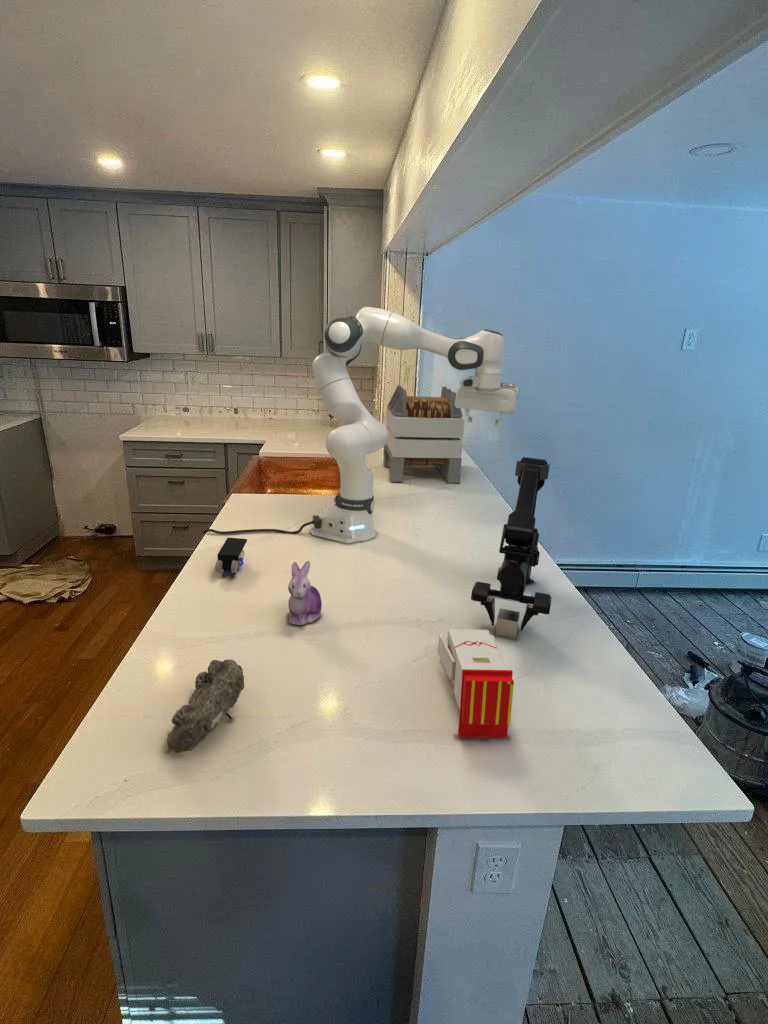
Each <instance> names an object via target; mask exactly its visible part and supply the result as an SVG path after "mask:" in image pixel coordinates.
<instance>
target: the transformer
mask: <svg viewBox="0 0 768 1024" xmlns="http://www.w3.org/2000/svg"><path fill="white" fill-rule="evenodd" d="M440 393H441V394H440V396H415V395H414V396H413V395H412V396H411V395H407V394H408V393H407V390H406V389H404V388H403V387H402V385H399V384H398V385H397V386H396V388H395V390H394V392H393V394H392V395H391V398H390V400H389V402H388V404H387V405H386V413H385V414H386V415H385V423H386V425H385V427H386V429H387V431H388V441H387V443H386V445H385V446H384V447H383V466H384V467H388V468H389V475H388V476H389V477H388V478H389V480H390V482H391V483H402V482H403V475H404V469H405V466H406V467H407V466H411V467H412V466H413V467H415V466H416V467H417V466H418V467H436V468H437V470H438V469H439V473H440V474H441V475H443V478H444V479H445V481H446V482H447V483H449V484H455V483H456V484H459V483H461V472H462V461H463V460H462V453H463V442H464V441H463V440H462V439H463V438H464V431H465V430H464V429H465V419H464V418H463V411H462V408H456V406H455V398H456V393H457V392H455V391H453V390H452V389H451V388H447V386H442V387H441V392H440Z"/></svg>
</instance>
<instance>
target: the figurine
mask: <svg viewBox="0 0 768 1024" xmlns="http://www.w3.org/2000/svg"><path fill="white" fill-rule="evenodd" d="M310 568H311V561H310V560H307V561H305V563H304V564H303V565H302V567H300V566H299V564H298V563H297V562H296V561H293V562H292V563H291V579H290V580H289V583H288V586H287V590H288V593H289V594H290V596H289V598H288V603H287V604H288V610H289V614H288V617H289V623H290V624H292V625H297V626H303V625H306V624H310V623H313V622H315V621H317V619H319V618H320V617H321V612H322V603H323V602H322V597H321V594H320V591H319V590H318V589H317V588H316V587H315V586H313V585H311V582H310V580H309V578H308V576H309V572H310Z"/></svg>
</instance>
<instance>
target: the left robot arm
mask: <svg viewBox="0 0 768 1024" xmlns="http://www.w3.org/2000/svg"><path fill="white" fill-rule="evenodd" d="M323 338H324V342H325V344H326V350H325V351H324V352H322V353H320V354H318V355H317V356H316V357H315V358H314V359H313V361H312V365H311V366H312V367H311V368H312V372H313V373H312V374H313V376H314V380H315V383H316V387H317V389H318V392H319V394H320V396H321V399H322V401H323V403H324V405H325V408H326V410H327V412H328V414H329V415H330V416H332V417H333V418H335V419H336V420H338V421H339V422H340V424H342V425H341V426H338V427H337V428H335V429H333V430H331V431H330V432H329V433H328V434H327V436H326V438H325V447H326V450H327V453H328V454H329V456H330V457H331V458H333V459H334V460H335V462H336V464H337V466H338V470H339V476H340V477H339V478H340V480H339V481H340V484H339V485H340V488H339V489H340V490H339V491H338V492H337V494H336V495H335V496H334V497H333V502H334V504H333V505H331V506H329V507H328V508H326V509H325V510H323V512H321V514H320V515H312V520H311V521H307V522H306V523H305V522H304V523H303V524H302V525H301V526H300V527H299V529H298V530H294V531H288V530H283V529H278V528H253V529H238V530H226V531H225V530H224V531H220V530H216V529H213V528H207V529H205V530H203V531H202V534H206V533H209V532H211V533H214V534H218V535H231V534H241V533H243V534H244V533H263V532H268V533H270V532H273V533H281V534H287V535H288V534H289V535H296V534H300V533H301V532H302V531H303V529H304V528H305V527H308V526H310V525H313V526H312V528H311V530H310V533H311V536H315V537H319V538H323V539H326V540H330V541H336V542H339V543H343V544H352V543H357V542H365V541H368V540H372V539H373V538H375V537H376V535H377V532H376V528H375V523H374V513H373V512H374V509H375V496H374V473H373V471H372V470H371V469H369V468H368V467H367V462H366V456H367V455H370V454H374V453H376V452H378V451H380V450H381V449H382V448H384V446H385V445H386V443H387V441H388V431H387V429H386V425H385V424H384V423H383V422H381V421H379V420H378V419H376V418H375V417H374V416H373V415H372V414H371V413H370V411H369V410H368V409H367V408H366V406H365V405H364V403H362V401H361V399H360V397H359V395H358V392H357V391H356V388H355V386H354V384H353V382H352V379H351V376H350V374H349V372H348V370H347V367H348V366H349V364H351V363H352V362H353V361H354V360H356V359H357V357H358V356H359V355H360V354H361V351H362V350H361V349H362V345H363V344H364V343H373V344H376V345H378V346H383V347H384V348H389V349H392V350H397V351H407V350H408V351H409V350H421V351H422V350H423V351H427V352H429V353H433V354H436V355H439V356H442V357H444V358H446V359H447V360H448V363H449V364H450V366H451V367H452V368H453V369H455V370H458V371H468V370H473V369H474V375H471V376H467V377H464V378H461V379H460V382H459V385H460V386H459V388H458V389H457V390H456V392H455V393H456V398H455V406H456V408H461V410H464V414H465V416H466V423H468V424H472V423H473V416H471V415H470V412H471V410H473V411H483V412H493V413H499V418H498V419H495V422H494V426H495V427H500V426H501V420H503V418H504V416H505V414H514V413H516V411H517V405H518V400H517V398H518V397H519V395H520V388H519V386H518V385H516V384H514V383H504V382H503V381H502V380H503V364H504V361H505V355H506V354H505V353H506V339H505V336H504V335H503V334H502V333H501V332H499V331H495V330H492V329H486V328H485V329H481V330H480V331H478V332H477V333H475V334H473V335H470V336H468V337H457V338H452V337H449V336H445V335H441V334H439V333H436V332H432V331H430V330H428V329H425V328H423V327H421V326H420V325H419V324H418V323H416V322H414V321H413V320H411V319H409V318H407V317H406V316H404V315H401V314H399V313H397V312H394V311H393V312H392V311H391V310H387V309H383V308H379V307H372V306H364V307H362V308H360V309H359V310H358V311H357V313H356V315H355V316H352V315H351V316H345V317H337V318H334V319H332V320H331V321H329V322H328V323H327V325H326V326H325V329H324V335H323Z"/></svg>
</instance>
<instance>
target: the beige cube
mask: <svg viewBox="0 0 768 1024" xmlns="http://www.w3.org/2000/svg"><path fill="white" fill-rule="evenodd" d="M520 616H521V612H520V611H516V610H510V609H506V608H499V610H498V614H497V617H496V622H495V623H496V624H495V632H494V636H497V637H502V638H507V639H512V640H516V639H517V634H518V630H519V624H520V623H519V622H520Z"/></svg>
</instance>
